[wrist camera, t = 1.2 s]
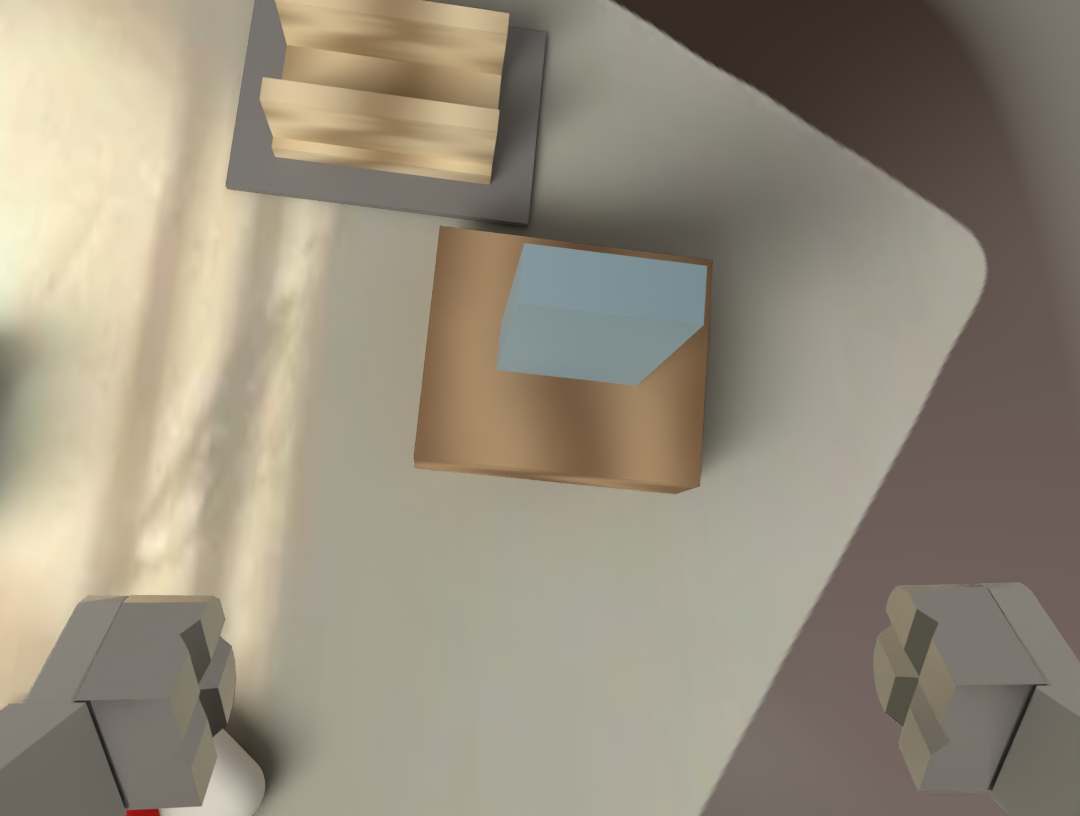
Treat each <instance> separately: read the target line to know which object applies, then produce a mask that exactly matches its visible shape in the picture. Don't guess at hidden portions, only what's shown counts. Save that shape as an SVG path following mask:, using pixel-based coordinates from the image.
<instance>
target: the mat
mask: <svg viewBox="0 0 1080 816" xmlns="http://www.w3.org/2000/svg"><path fill="white" fill-rule="evenodd" d="M545 42H546V32H542V31H535V30H529V29H522V28H515V27H508V33H507V40H506V47H505V54H504V61H503V68H502V75H501V84H500V94H499V104H498V110H500V111H499V120H498V130H497V137H496V143H495V150H494V156H493V163H492V171H491V179H490V185H487V184H480V183H472V182H464V181H457V180H449V179H441V178H434V177H426V176H418V175H411V174H403V173H396V172H388V171H380V170H373V169H365V168H357V167H350V166H342V165H334V164H327V163H319V162H311V161H304V160H296V159H288V158H281V157H275V155H274V153H273V150H272V141H273V135H272V133H271V130H270V127H269V124H268V122H267V119H266V116H265V113H264V110H263V108H262V105H261V102H260V92H261V86H262V79H263V77H265V78H273V79H280V80H282V74H283V67H284V61H285V54H286V47H287V44H286V40H285V36H284V32H283V29H282V25H281V21H280V18H279V14H278V10H277V7H276V3H275V0H255V2H254V9H253V15H252V21H251V28H250V34H249V40H248V47H247V53H246V59H245V66H244V72H243V78H242V85H241V91H240V97H239V103H238V110H237V116H236V122H235V129H234V135H233V141H232V148H231V154H230V160H229V167H228V173H227V179H226V187H227V189H231V190H239V191H247V192H255V193H263V194H271V195H279V196H287V197H294V198H302V199H310V200H318V201H326V202H334V203H342V204H350V205H358V206H366V207H373V208H381V209H389V210H397V211H405V212H413V213H421V214H429V215H437V216H445V217H452V218H460V219H468V220H476V221H484V222H492V223H500V224H508V225H516V226H523V227H527V226H528V221H529V210H530V200H531V189H532V179H533V168H534V158H535V147H536V137H537V126H538V116H539V105H540V95H541V84H542V74H543V63H544V53H545Z"/></svg>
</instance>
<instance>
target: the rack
mask: <svg viewBox="0 0 1080 816" xmlns="http://www.w3.org/2000/svg"><path fill="white" fill-rule="evenodd" d="M275 3H276V7H277V10H278V14H279V18H280V21H281V25H282V29H283V32H284V36H285V40H286V44H287V47H286V54H285V61H284V67H283V74H282V80H280V79H273V78H265V77H263V79H262V86H261V92H260V102H261V105H262V108H263V110H264V113H265V116H266V119H267V122H268V124H269V127H270V130H271V133H272V135H273V141H272V150H273V153H274V155H275V157H281V158H288V159H296V160H304V161H311V162H319V163H327V164H334V165H342V166H350V167H357V168H365V169H373V170H380V171H388V172H396V173H403V174H411V175H418V176H426V177H434V178H441V179H449V180H457V181H464V182H472V183H480V184H487V185H490V179H491V171H492V163H493V156H494V150H495V143H496V137H497V130H498V120H499V111H500V110H498V104H499V94H500V84H501V75H502V68H503V61H504V54H505V47H506V40H507V33H508V24H509V14H510V13H504V12H497V11H491V10H484V9H477V8H471V7H464V6H457V5H450V4H444V3H437V2H430V1H423V0H275Z"/></svg>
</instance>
